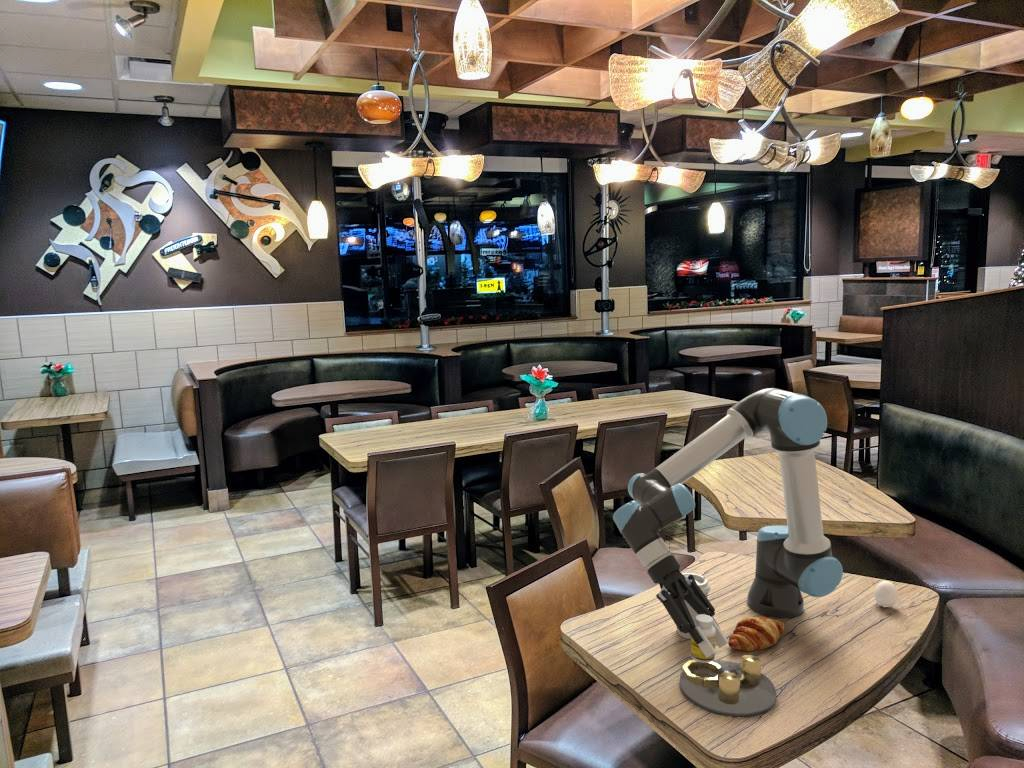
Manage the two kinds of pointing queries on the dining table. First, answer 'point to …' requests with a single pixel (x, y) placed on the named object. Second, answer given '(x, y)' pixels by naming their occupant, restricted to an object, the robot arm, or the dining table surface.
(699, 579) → the coffee cup
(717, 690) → the carrier plate
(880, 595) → the egg
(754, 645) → the croissant
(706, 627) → the supplement bottle
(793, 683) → the dining table surface
